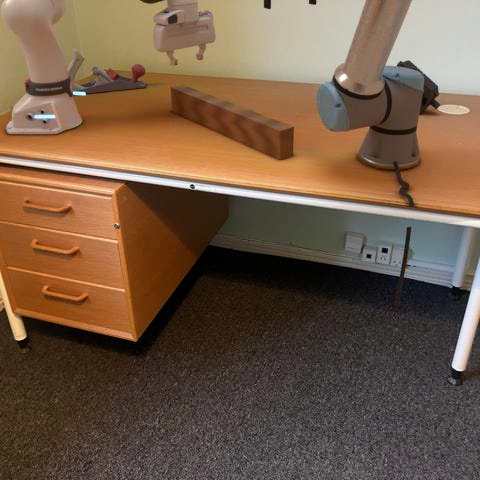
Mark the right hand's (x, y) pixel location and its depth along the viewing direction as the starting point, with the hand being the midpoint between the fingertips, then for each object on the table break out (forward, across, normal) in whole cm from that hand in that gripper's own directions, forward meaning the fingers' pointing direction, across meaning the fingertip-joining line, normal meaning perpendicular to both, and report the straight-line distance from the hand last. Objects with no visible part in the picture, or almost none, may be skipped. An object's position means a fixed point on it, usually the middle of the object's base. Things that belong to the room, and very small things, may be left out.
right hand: (290, 6), depth 141 cm
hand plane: (+33, +40, -68) cm, 86 cm away
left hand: (+17, +22, -25) cm, 37 cm away
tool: (+34, -43, +1) cm, 55 cm away
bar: (+34, +17, -7) cm, 38 cm away
